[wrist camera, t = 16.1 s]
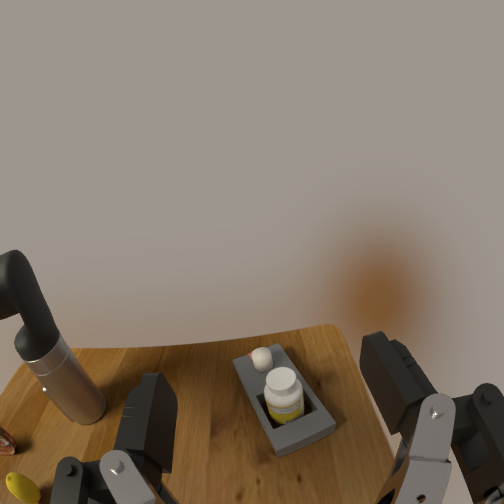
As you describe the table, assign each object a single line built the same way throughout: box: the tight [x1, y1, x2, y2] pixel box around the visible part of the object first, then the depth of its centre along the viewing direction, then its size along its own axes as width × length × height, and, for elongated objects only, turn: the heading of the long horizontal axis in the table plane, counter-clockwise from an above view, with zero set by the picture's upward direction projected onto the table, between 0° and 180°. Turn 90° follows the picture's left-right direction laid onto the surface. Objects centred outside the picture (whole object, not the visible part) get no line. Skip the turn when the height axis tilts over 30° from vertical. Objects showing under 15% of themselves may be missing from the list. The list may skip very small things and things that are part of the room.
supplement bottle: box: [264, 367, 304, 426], centre depth 34 cm, size 5×5×10 cm
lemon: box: [6, 472, 41, 504], centre depth 15 cm, size 6×6×8 cm
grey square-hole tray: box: [232, 343, 336, 458], centre depth 38 cm, size 9×20×6 cm, turn 19°
